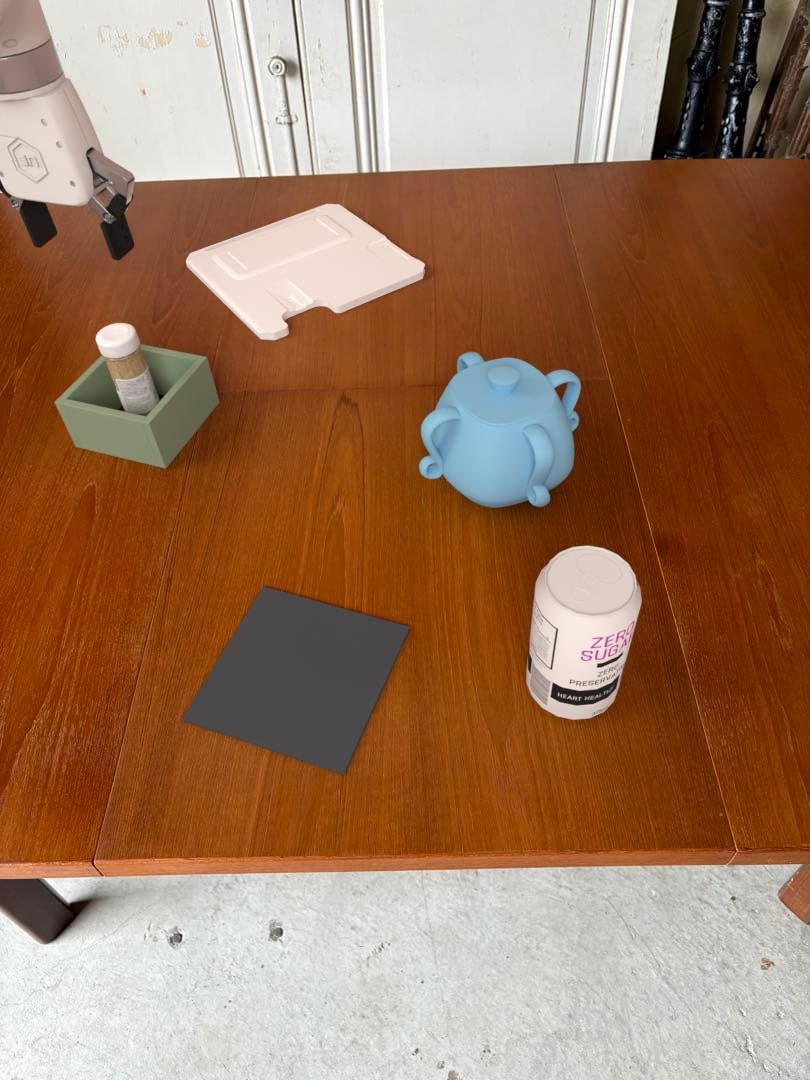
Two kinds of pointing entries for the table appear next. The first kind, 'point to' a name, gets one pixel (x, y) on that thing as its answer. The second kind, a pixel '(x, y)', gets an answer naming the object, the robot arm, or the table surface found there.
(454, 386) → the decorative pot
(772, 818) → the table surface
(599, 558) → the supplement can
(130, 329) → the sprinkles bottle
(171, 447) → the crate
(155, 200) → the table surface
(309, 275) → the tray
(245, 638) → the mat
